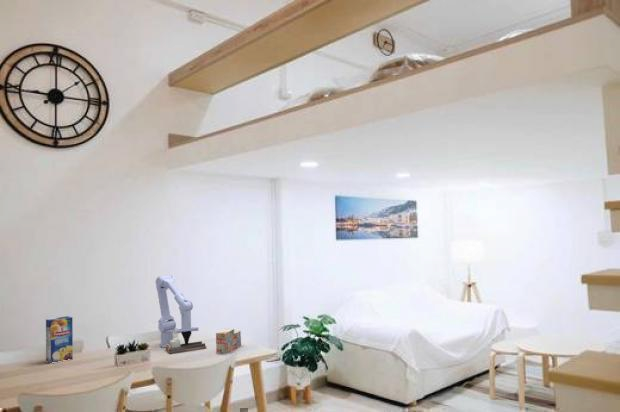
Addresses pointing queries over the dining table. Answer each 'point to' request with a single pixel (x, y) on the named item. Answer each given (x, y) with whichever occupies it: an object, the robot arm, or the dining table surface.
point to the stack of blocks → (227, 340)
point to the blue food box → (59, 339)
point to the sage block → (174, 343)
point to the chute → (185, 347)
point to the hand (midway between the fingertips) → (186, 343)
